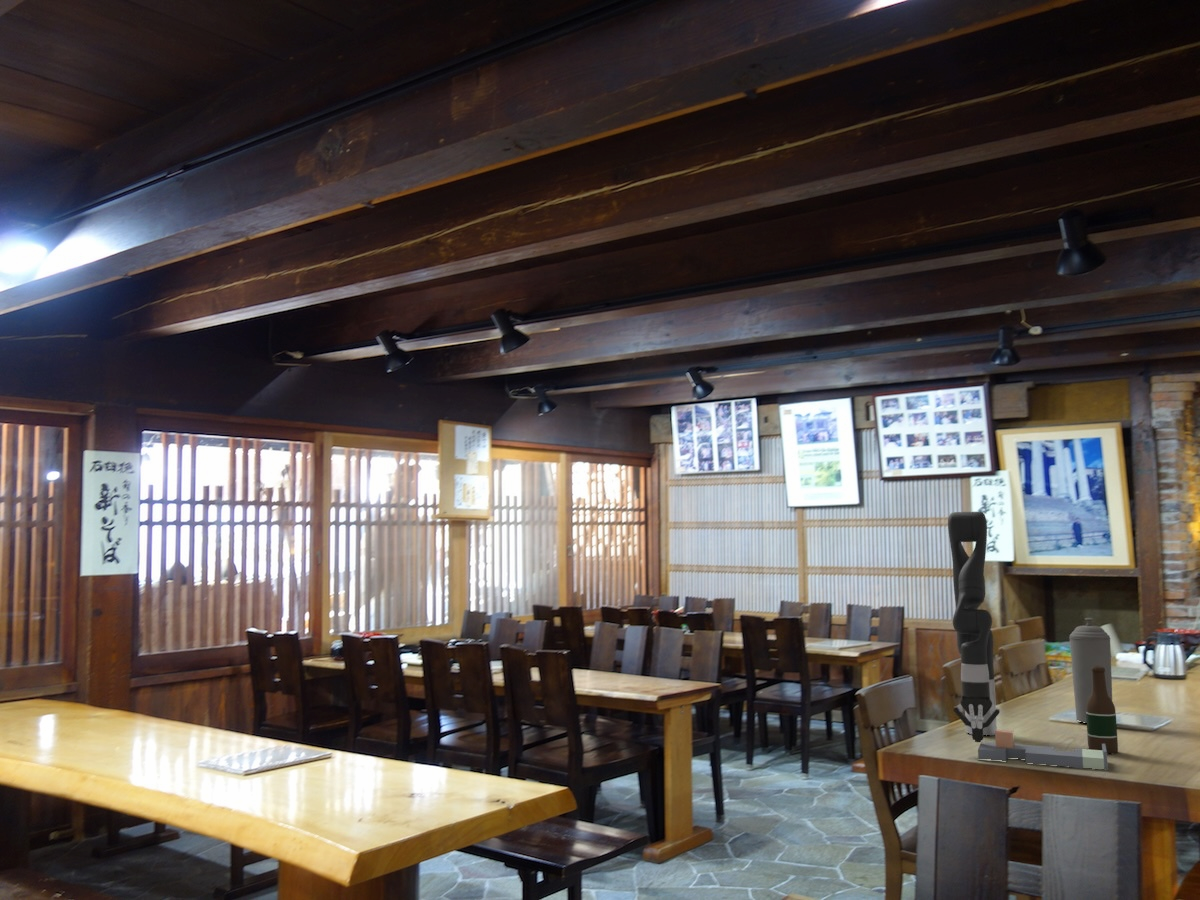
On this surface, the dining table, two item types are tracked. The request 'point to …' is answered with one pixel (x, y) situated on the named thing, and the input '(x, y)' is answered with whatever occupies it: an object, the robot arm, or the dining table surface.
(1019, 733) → the dining table surface
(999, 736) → the block
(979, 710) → the robot arm
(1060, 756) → the board
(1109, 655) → the canister
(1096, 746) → the beer bottle
